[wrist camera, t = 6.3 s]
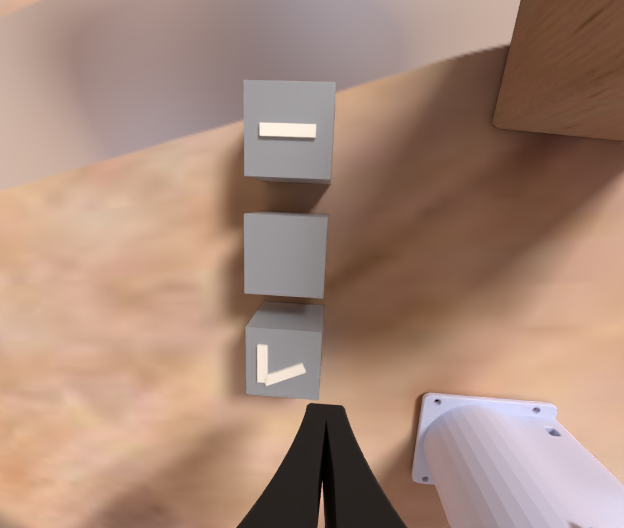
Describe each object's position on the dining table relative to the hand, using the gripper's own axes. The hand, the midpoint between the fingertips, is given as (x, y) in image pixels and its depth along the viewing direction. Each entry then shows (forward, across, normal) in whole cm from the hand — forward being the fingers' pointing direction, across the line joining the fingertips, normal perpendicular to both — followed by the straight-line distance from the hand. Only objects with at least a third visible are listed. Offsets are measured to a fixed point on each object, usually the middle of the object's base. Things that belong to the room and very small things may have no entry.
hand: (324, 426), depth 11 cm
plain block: (+11, +2, -5) cm, 12 cm away
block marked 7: (+11, +2, +2) cm, 11 cm away
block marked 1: (+11, +2, -12) cm, 16 cm away
